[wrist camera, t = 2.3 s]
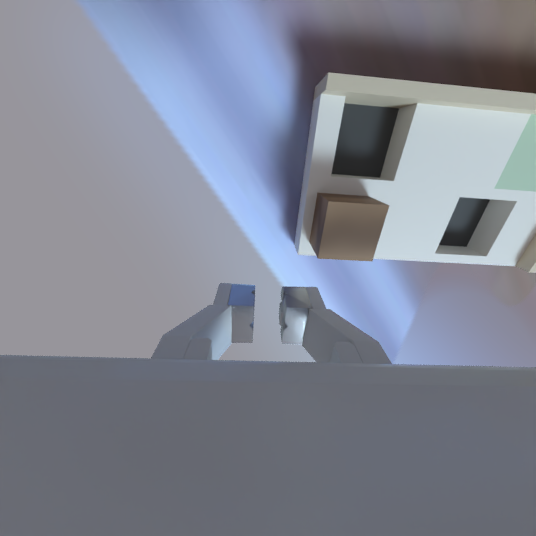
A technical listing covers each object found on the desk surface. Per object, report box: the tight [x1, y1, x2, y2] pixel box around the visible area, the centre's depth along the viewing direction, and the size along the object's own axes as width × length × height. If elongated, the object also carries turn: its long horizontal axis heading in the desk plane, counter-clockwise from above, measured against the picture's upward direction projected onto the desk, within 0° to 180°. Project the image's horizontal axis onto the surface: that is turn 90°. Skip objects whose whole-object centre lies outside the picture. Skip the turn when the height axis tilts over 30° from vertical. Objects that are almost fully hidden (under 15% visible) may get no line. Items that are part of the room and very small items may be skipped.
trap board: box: [294, 72, 536, 273], centre depth 23 cm, size 15×26×4 cm, turn 86°
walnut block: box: [309, 193, 390, 261], centre depth 21 cm, size 5×5×4 cm
